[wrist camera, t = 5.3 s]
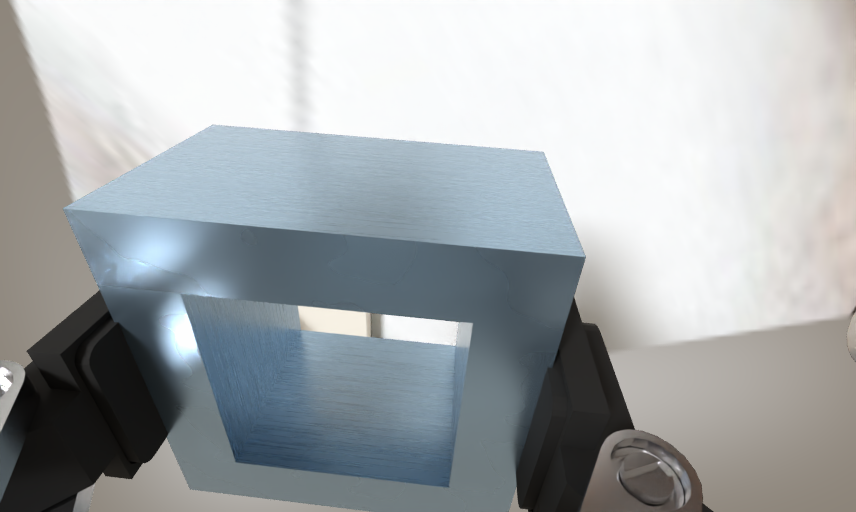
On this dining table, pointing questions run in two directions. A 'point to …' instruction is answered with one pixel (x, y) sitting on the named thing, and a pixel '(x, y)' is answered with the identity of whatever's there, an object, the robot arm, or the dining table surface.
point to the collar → (342, 290)
